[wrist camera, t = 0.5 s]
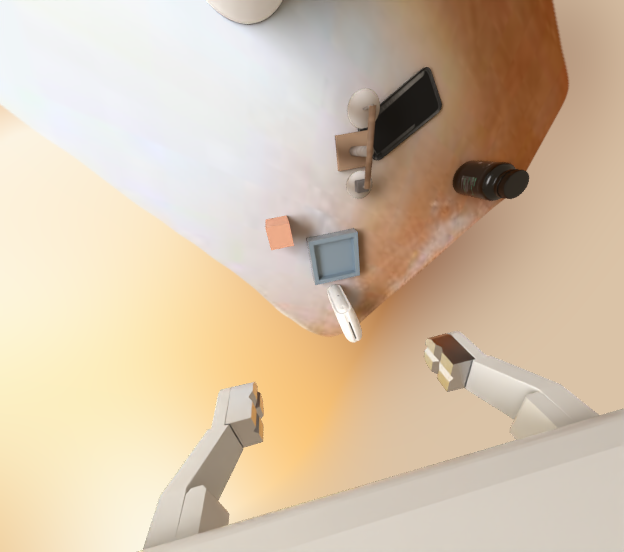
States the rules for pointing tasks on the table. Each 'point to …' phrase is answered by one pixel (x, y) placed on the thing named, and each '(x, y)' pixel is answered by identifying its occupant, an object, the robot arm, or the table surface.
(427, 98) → the phone
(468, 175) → the supplement bottle
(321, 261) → the dish
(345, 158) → the tipped balance
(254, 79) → the table surface
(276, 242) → the terracotta block
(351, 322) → the photo printer
